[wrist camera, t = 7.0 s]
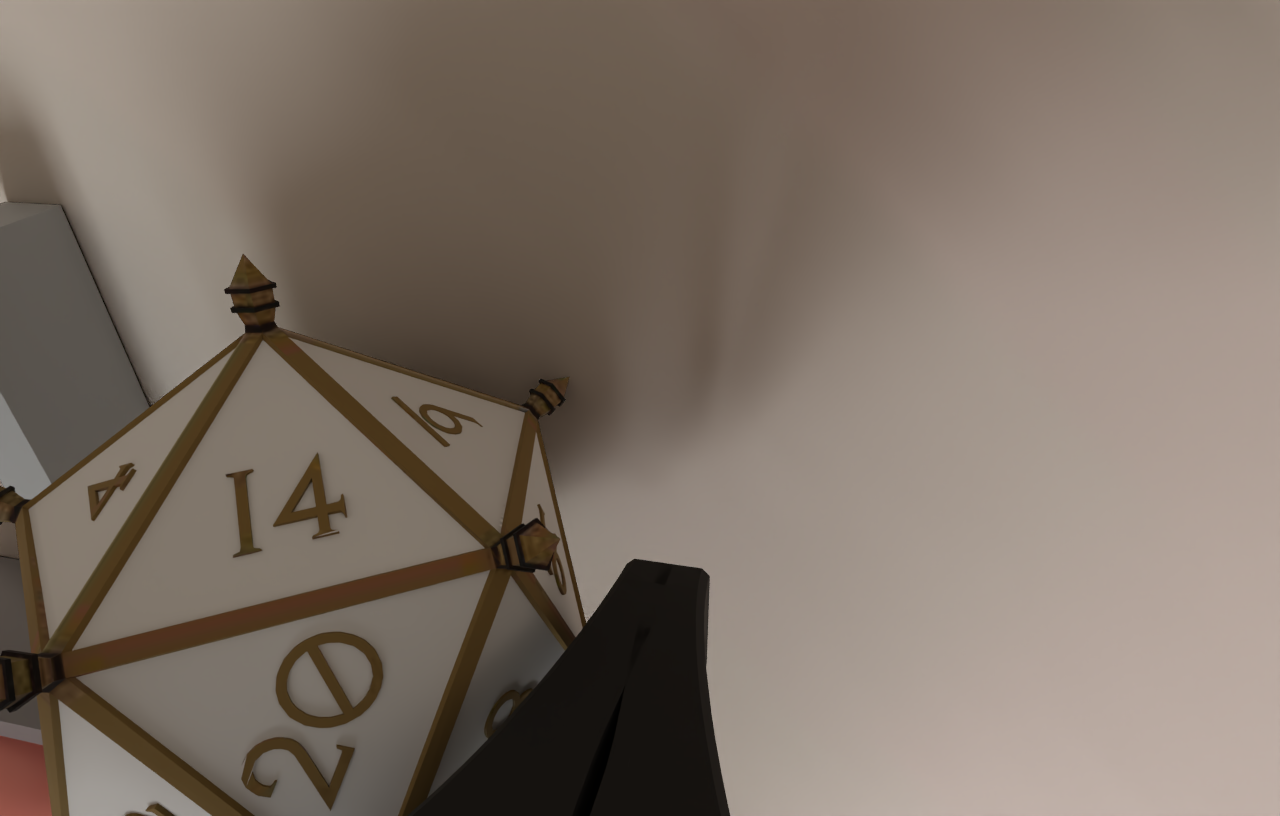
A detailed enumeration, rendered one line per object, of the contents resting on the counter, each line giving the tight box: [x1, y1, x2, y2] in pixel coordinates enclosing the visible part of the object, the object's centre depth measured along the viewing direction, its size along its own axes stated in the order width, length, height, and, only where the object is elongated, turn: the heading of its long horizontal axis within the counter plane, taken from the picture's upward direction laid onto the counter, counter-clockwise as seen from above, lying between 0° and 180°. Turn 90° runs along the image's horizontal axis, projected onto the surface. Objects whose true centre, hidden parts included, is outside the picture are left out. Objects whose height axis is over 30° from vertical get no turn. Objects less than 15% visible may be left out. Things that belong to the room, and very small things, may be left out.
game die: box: [0, 254, 586, 816], centre depth 11 cm, size 9×8×10 cm
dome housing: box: [0, 557, 43, 745], centre depth 19 cm, size 7×7×4 cm
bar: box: [0, 202, 150, 500], centre depth 15 cm, size 9×1×2 cm, turn 2°
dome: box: [0, 736, 52, 816], centre depth 18 cm, size 5×5×5 cm
